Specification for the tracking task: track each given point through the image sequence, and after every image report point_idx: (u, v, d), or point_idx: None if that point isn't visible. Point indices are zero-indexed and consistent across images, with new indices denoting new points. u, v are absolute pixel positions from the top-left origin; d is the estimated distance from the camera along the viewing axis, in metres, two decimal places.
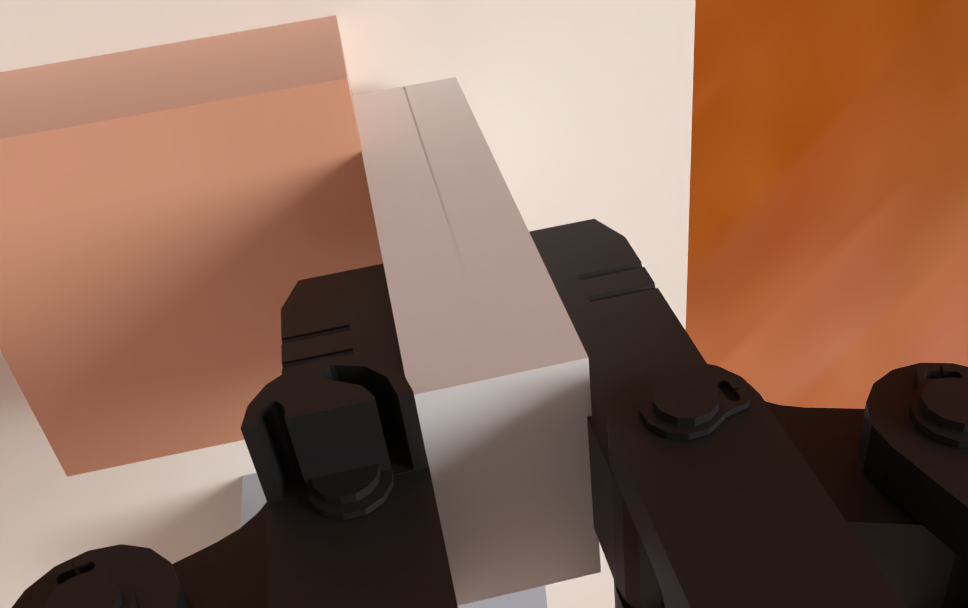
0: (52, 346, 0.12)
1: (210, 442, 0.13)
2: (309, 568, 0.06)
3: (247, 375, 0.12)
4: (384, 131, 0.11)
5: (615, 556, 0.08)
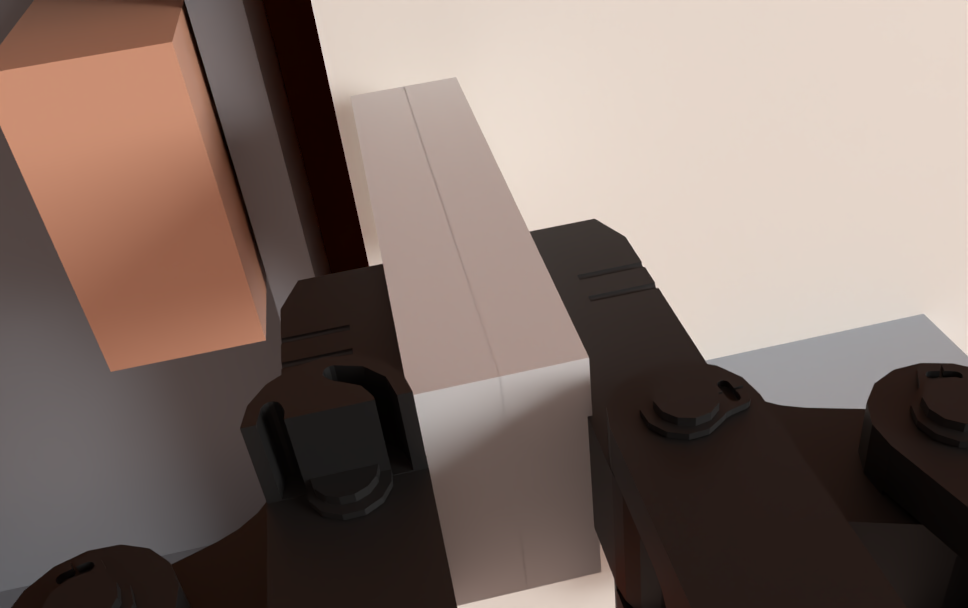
0: None
1: None
2: (308, 569, 0.06)
3: None
4: (384, 131, 0.11)
5: (615, 555, 0.08)
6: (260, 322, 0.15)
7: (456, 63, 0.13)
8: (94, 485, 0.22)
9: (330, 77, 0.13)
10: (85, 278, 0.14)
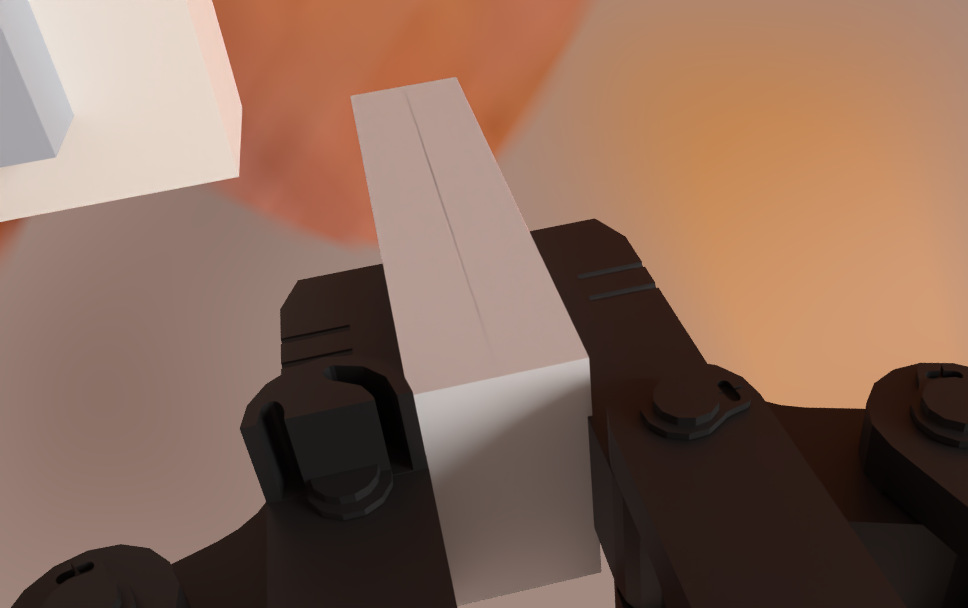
0: None
1: None
2: (308, 568, 0.06)
3: None
4: (384, 131, 0.11)
5: (615, 555, 0.08)
6: None
7: None
8: None
9: None
10: None
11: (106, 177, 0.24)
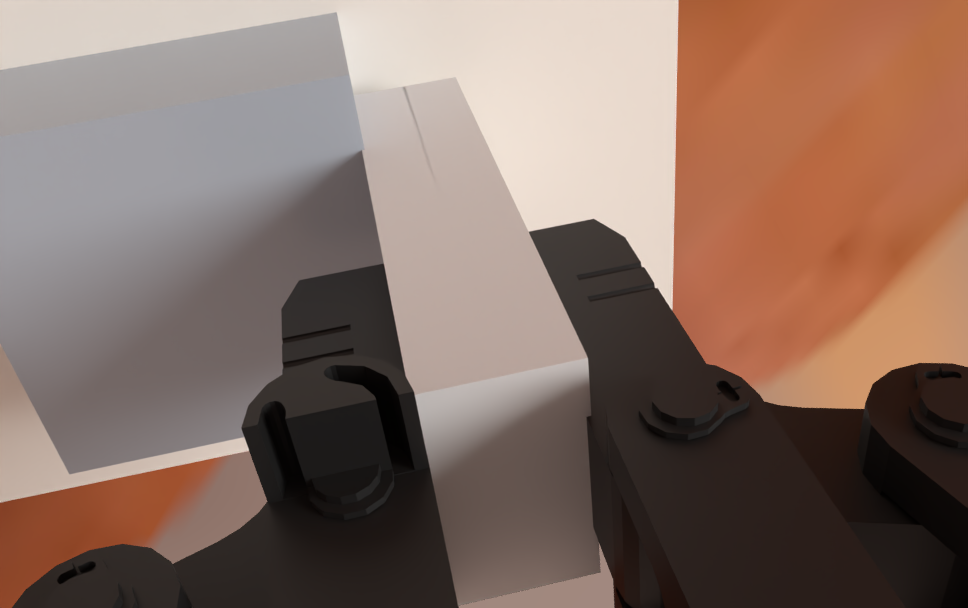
0: None
1: None
2: (309, 568, 0.06)
3: None
4: (385, 131, 0.11)
5: (614, 556, 0.08)
6: None
7: None
8: None
9: None
10: None
11: None
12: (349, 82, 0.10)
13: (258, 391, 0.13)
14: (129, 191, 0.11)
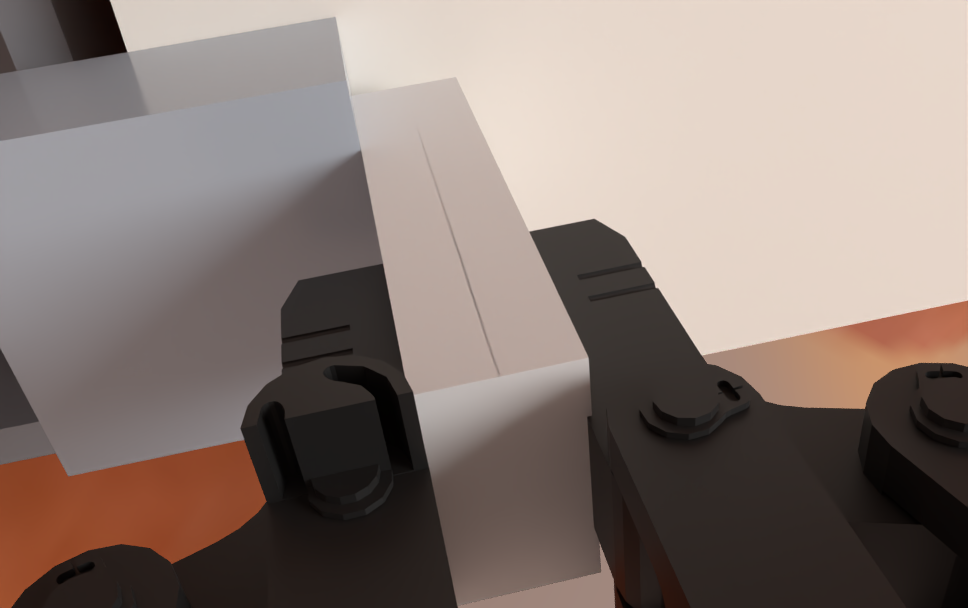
0: None
1: None
2: (309, 568, 0.06)
3: None
4: (384, 130, 0.11)
5: (615, 556, 0.08)
6: None
7: None
8: None
9: None
10: None
11: (817, 303, 0.17)
12: (346, 88, 0.11)
13: (256, 394, 0.13)
14: (128, 195, 0.11)
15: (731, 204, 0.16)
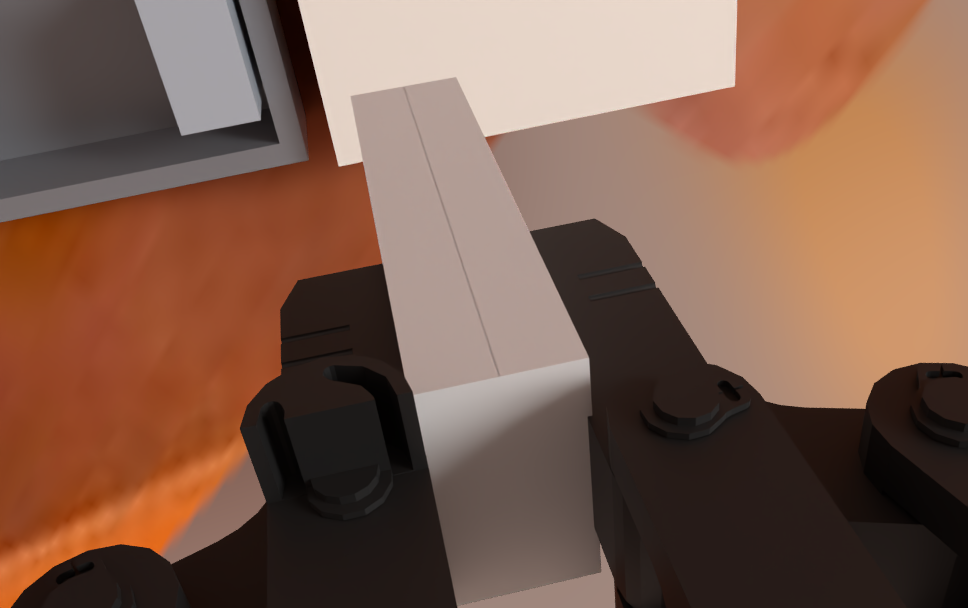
0: None
1: None
2: (308, 568, 0.06)
3: None
4: (384, 131, 0.11)
5: (616, 555, 0.08)
6: None
7: None
8: (87, 61, 0.32)
9: None
10: None
11: (642, 86, 0.31)
12: None
13: None
14: None
15: (585, 23, 0.30)
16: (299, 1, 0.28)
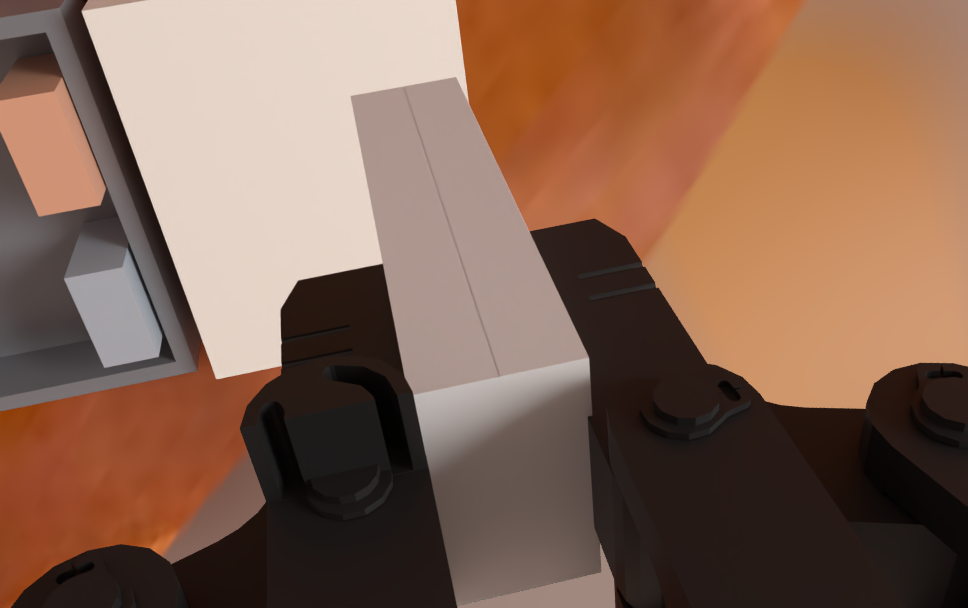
0: None
1: None
2: (308, 568, 0.06)
3: None
4: (384, 131, 0.11)
5: (615, 556, 0.08)
6: (97, 197, 0.38)
7: (164, 97, 0.36)
8: (42, 298, 0.45)
9: (116, 102, 0.36)
10: (27, 177, 0.37)
11: None
12: None
13: None
14: None
15: None
16: (183, 285, 0.41)
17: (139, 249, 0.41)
